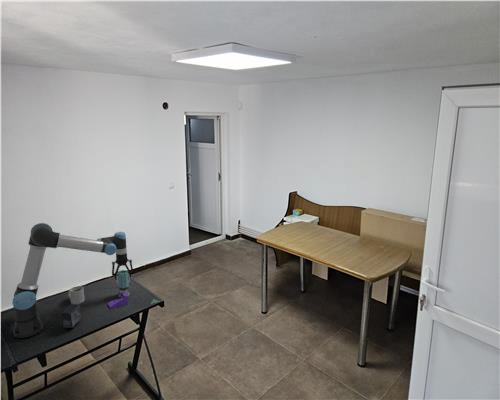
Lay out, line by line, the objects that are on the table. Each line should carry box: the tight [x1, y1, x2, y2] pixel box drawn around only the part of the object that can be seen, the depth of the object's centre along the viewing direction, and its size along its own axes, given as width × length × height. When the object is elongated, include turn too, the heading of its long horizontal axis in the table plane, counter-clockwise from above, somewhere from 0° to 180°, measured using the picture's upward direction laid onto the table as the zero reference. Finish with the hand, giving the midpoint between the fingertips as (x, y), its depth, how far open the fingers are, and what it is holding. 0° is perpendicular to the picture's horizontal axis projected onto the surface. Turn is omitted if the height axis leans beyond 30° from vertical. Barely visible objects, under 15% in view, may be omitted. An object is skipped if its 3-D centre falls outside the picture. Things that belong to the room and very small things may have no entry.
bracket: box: [107, 293, 129, 310], centre depth 238 cm, size 12×7×7 cm, turn 124°
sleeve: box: [117, 269, 130, 289], centre depth 249 cm, size 7×7×11 cm
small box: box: [61, 303, 82, 329], centre depth 214 cm, size 11×6×10 cm, turn 178°
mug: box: [67, 285, 86, 305], centre depth 242 cm, size 11×10×10 cm
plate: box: [118, 291, 131, 299], centre depth 251 cm, size 8×8×1 cm
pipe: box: [119, 273, 128, 296], centre depth 249 cm, size 5×5×16 cm
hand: (123, 282), depth 249 cm, fingers closed on sleeve, 7 cm apart
